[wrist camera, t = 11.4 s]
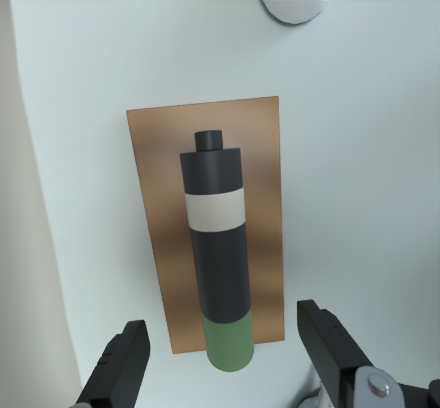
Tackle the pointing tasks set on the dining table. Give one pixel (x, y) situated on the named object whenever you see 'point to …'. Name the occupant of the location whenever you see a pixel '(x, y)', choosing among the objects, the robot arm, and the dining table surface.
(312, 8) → the white jar
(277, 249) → the wooden board
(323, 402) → the soldier figure
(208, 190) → the marker
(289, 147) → the dining table surface
